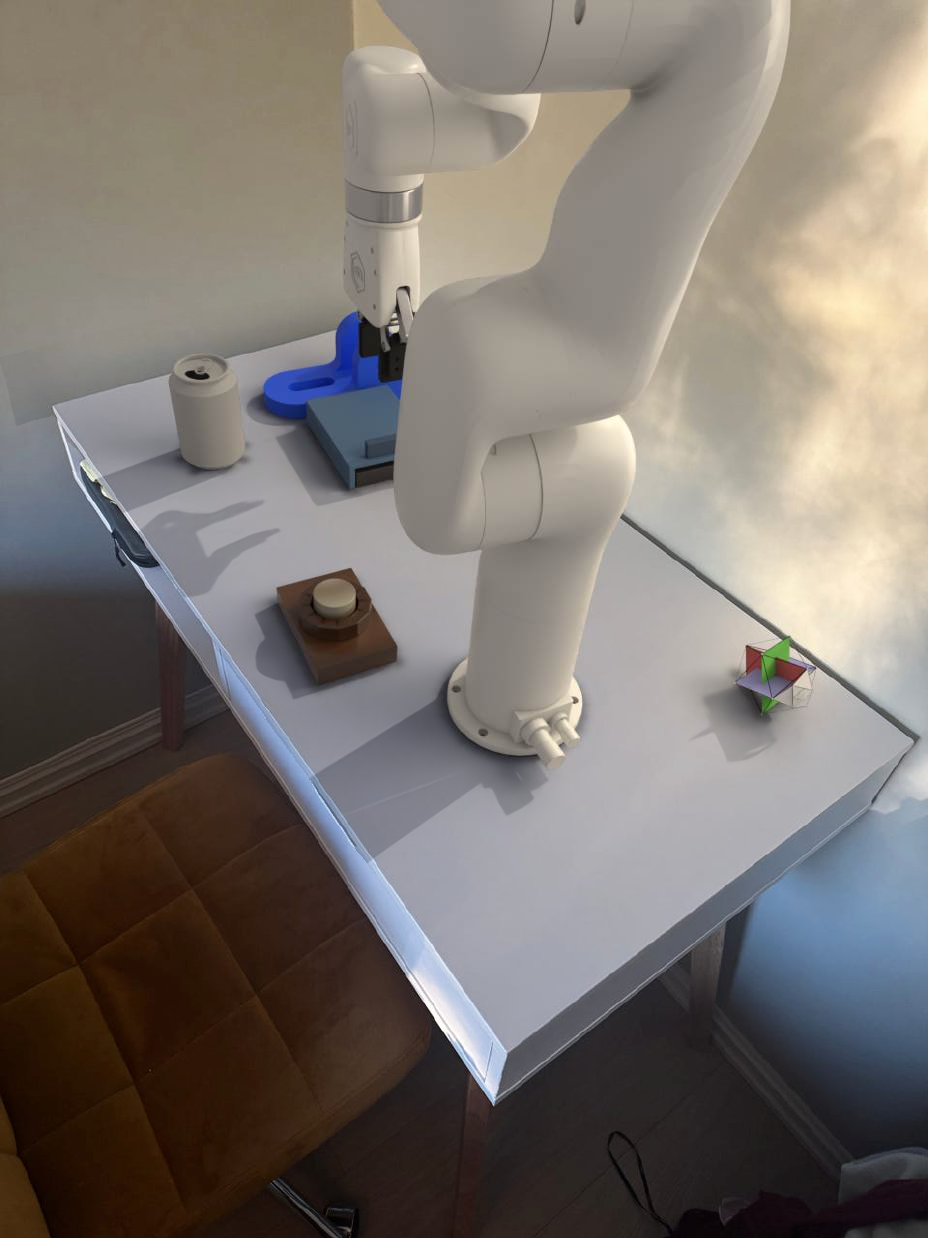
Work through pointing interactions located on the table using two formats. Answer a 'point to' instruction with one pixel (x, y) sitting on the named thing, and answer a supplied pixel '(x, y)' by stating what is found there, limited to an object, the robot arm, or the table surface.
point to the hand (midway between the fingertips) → (382, 365)
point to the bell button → (334, 599)
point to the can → (207, 411)
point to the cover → (356, 428)
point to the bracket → (326, 376)
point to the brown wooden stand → (336, 631)
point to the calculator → (374, 473)
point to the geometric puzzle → (777, 676)
